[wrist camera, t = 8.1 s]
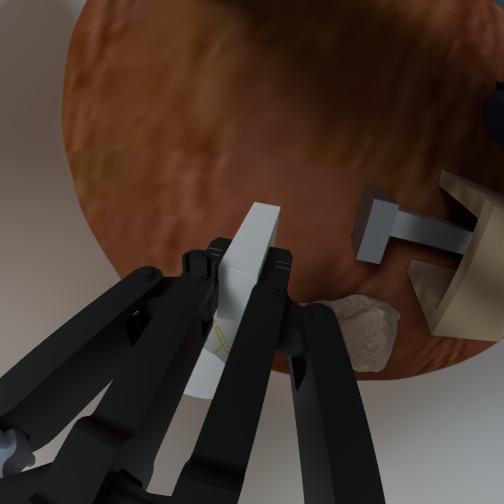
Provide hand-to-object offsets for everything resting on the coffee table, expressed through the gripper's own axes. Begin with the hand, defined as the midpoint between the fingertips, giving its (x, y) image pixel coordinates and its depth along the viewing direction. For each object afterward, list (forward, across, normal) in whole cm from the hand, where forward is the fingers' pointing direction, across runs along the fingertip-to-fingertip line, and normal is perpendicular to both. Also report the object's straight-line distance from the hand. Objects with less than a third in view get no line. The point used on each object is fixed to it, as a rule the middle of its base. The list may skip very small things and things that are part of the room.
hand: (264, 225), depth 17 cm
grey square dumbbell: (+9, +20, -1) cm, 22 cm away
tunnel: (+10, +19, -1) cm, 21 cm away
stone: (+9, +9, -15) cm, 20 cm away
